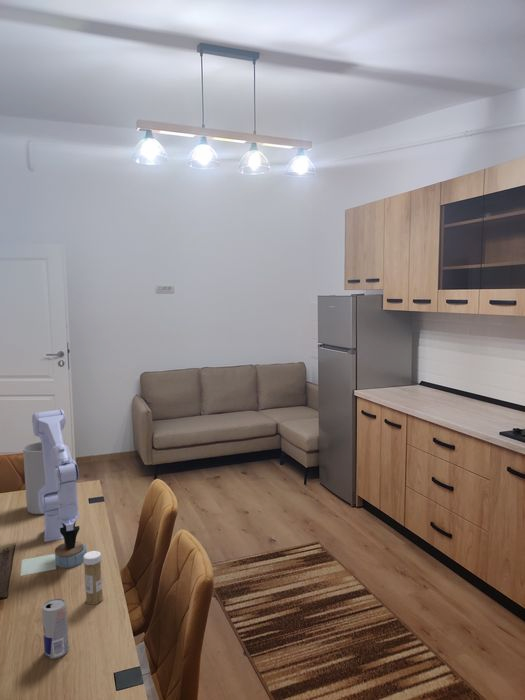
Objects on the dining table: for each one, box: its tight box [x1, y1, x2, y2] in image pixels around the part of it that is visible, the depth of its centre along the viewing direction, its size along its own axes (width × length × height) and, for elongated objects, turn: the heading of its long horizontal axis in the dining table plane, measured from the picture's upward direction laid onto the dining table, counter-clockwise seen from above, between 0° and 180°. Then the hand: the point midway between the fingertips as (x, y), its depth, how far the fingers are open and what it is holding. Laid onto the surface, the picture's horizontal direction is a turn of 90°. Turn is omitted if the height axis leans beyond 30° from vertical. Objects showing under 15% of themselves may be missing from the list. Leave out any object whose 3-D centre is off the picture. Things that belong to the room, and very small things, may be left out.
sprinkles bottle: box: [83, 550, 104, 605], centre depth 144 cm, size 5×5×14 cm
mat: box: [20, 553, 57, 577], centre depth 164 cm, size 10×10×1 cm
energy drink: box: [41, 598, 70, 660], centre depth 124 cm, size 5×5×12 cm
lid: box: [54, 539, 84, 557], centre depth 165 cm, size 8×8×4 cm
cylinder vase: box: [22, 441, 57, 515], centre depth 204 cm, size 12×12×25 cm
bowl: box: [54, 543, 88, 569], centre depth 166 cm, size 9×9×4 cm
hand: (70, 542), depth 166 cm, fingers open, 7 cm apart
